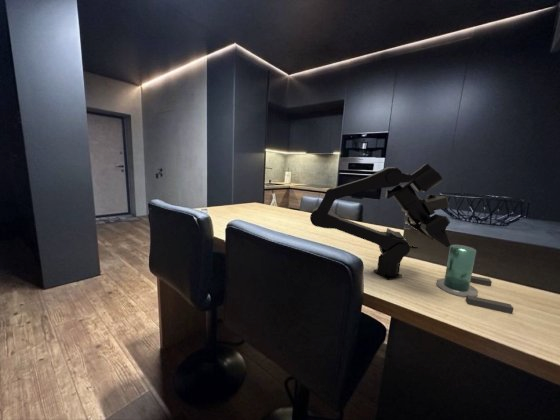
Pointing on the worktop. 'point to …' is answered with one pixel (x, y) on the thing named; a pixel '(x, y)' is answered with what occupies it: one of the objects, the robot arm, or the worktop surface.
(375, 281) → the worktop surface
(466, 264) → the tin canister
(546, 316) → the worktop surface
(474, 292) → the slate coaster
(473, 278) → the cord left
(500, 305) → the cord right
